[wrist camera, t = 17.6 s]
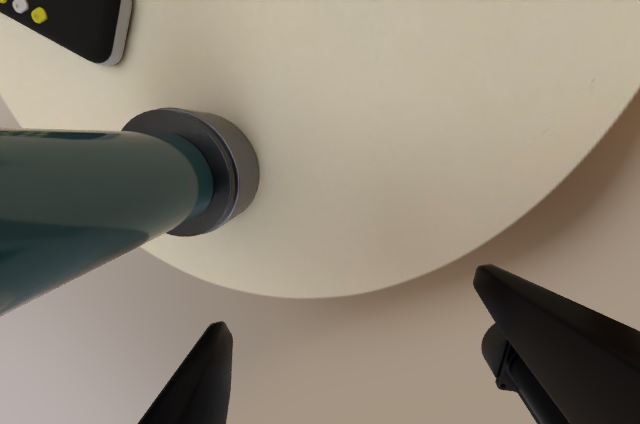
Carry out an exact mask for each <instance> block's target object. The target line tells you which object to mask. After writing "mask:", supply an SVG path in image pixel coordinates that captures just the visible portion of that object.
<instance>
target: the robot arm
mask: <svg viewBox="0 0 640 424" xmlns="http://www.w3.org/2000/svg"><path fill="white" fill-rule="evenodd" d="M473 285H474V288H475V289H476V291H477V293H478V295H479V296H480V298H481V300H482V301H483V303H484V304H485V306H486V308H487V309H488V311H489V313H490V314H491V316H492V318H493V319H494V321H495V322H496V324H497V325H498V327H499V329H500V330H501V331H502V333H503V334H504V336H505V337H506V338H507V343H506V347H505V350H504V353H503V357H502V360H501V363H500V367H499V370H498V374H497V377H496V381H495V383H496V385H497V387H498V388H499V389H501V390H508V391H516V392H517V393H518V394H519V396H520V397H521V399H522V400H523V402H524V403H525V405H526V406H527V408H528V410H529V411H530V413H531V415H532V416H533V418H534V419H535V421H536V422H537V424H640V331H638V330H636V329H634V328H631V327H629V326H627V325H625V324H622V323H620V322H618V321H616V320H614V319H611V318H609V317H607V316H605V315H603V314H600V313H598V312H596V311H594V310H591V309H589V308H587V307H585V306H583V305H580V304H578V303H576V302H574V301H572V300H569V299H567V298H565V297H563V296H561V295H558V294H556V293H554V292H552V291H549V290H547V289H545V288H543V287H541V286H538V285H536V284H534V283H532V282H529V281H527V280H525V279H523V278H521V277H519V276H516V275H514V274H512V273H510V272H508V271H505V270H503V269H501V268H499V267H496V266H494V265H492V264H485V265H481V266H478V267H477V269H476V273H475V276H474V280H473ZM232 347H233V338H232V335H231V333H230V331H229V329H228V327H227V326H226V324H225V323H224V322H223V321H220V322H216V323H212V324H210V326H209V327H208V328H207V329H206V331H205V332H204V334H203V335H202V336H201V338H200V339H199V340H198V342H197V343H196V344H195V346H194V347H193V349H192V350H191V351H190V353H189V354H188V355H187V357H186V358H185V360H184V361H183V362H182V364H181V365H180V366H179V368H178V369H177V371H176V372H175V373H174V375H173V376H172V377H171V379H170V380H169V381H168V383H167V384H166V385H165V387H164V388H163V390H162V391H161V393H160V394H159V395H158V397H157V398H156V399H155V401H154V402H153V403H152V405H151V406H150V407H149V409H148V410H147V412H146V413H145V414H144V416H143V417H142V418H141V420H140V421H139V423H138V424H226V419H227V412H228V405H229V398H230V390H231V371H232V349H233V348H232Z"/></svg>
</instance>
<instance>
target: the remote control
mask: <svg viewBox="0 0 640 424" xmlns="http://www.w3.org/2000/svg"><path fill="white" fill-rule="evenodd" d="M131 9H132V0H0V12H1V13H3V14H5V15H6V16H8V17H10V18H12V19H14V20H16V21H17V22H19V23H21V24H23V25H25V26H27V27H28V28H30V29H32V30H34V31H36V32H37V33H39V34H41V35H43V36H45V37H47V38H48V39H50V40H52V41H54V42H56V43H58V44H59V45H61V46H63V47H65V48H67V49H68V50H70V51H72V52H74V53H76V54H78V55H79V56H81V57H83V58H85V59H87V60H89V61H91V62H94V63H97V64H100V65H105V66H111V65H115V64H116V63H118V62H119V61H120V59H121V58H122V55H123V51H124V46H125V41H126V36H127V30H128V25H129V20H130V14H131Z"/></svg>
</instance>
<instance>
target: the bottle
mask: <svg viewBox="0 0 640 424" xmlns="http://www.w3.org/2000/svg"><path fill="white" fill-rule="evenodd" d="M212 195H213V177H212V173H211V170H210V167H209V165H208V163H207V161H206V159H205V157H204V156H203V154H202V153H201V152H200V151H199V150H198V149H197V148H196V147H195V146H194V145H193V144H192V143H191V142H189V141H188V140H186V139H185V138H183V137H181V136H179V135H176V134H173V133H168V132H138V131H101V130H65V129H29V128H0V316H3V315H4V314H6V313H8V312H10V311H12V310H14V309H16V308H18V307H20V306H22V305H24V304H26V303H28V302H30V301H32V300H34V299H36V298H38V297H40V296H42V295H44V294H46V293H48V292H50V291H52V290H54V289H56V288H58V287H60V286H62V285H64V284H66V283H68V282H70V281H72V280H74V279H75V278H78V277H79V276H81V275H83V274H85V273H87V272H89V271H91V270H93V269H95V268H97V267H99V266H101V265H103V264H105V263H107V262H109V261H111V260H113V259H115V258H117V257H119V256H121V255H123V254H125V253H127V252H129V251H131V250H133V249H135V248H137V247H139V246H141V245H143V244H145V243H147V242H149V241H151V240H153V239H155V238H157V237H159V236H161V235H163V234H165V233H167V232H168V231H170V230H172V229H174V228H176V227H178V226H180V225H182V224H184V223H186V222H188V221H190V220H192V219H194V218H196V217H198V216H199V215H201V214H202V213H203V212H204V211H205V210H206V208H207V207H208V205H209V203H210V201H211V198H212Z"/></svg>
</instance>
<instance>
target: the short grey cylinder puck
mask: <svg viewBox="0 0 640 424" xmlns="http://www.w3.org/2000/svg"><path fill="white" fill-rule="evenodd" d="M121 131H138V132H168V133H173V134H176V135H179V136H181V137H183V138H185V139H186V140H188V141H189V142H191V143H192V144H193V145H194V146H195V147H196V148H197V149H198V150H199V151H200V152H201V153H202V154H203V156H204V157H205V159H206V161H207V163H208V165H209V167H210V170H211V173H212V177H213V195H212V198H211V201H210V203H209V205H208V207H207V208H206V210H205V211H204V212H203V213H202V214H201V215H199V216H198V217H196V218H194V219H192V220H190V221H188V222H186V223H184V224H182V225H180V226H178V227H176V228H174V229H172V230H170V231H168V232H167V234H170V235H174V236H196V235H199V234H205V233H208V232H211V231H213V230H215V229H217V228H219V227H220V226H222V225H223V224H225V223H226V222H228V221H229V220H231V219H232V218H234V217H235V216H237V215H238V214H240V213H241V212H243V211H244V210H245V209H246V208H247V207H248V206H249V205H250V203H251V202H252V200H253V199H254V197H255V194H256V192H257V188H258V184H259V166H258V161H257V157H256V155H255V152H254V149H253V148H252V146H251V144H250V142H249V141H248V139H247V138H246V136H245V135H244V134H243V133H242V132H241V131H240V130H239V129H238V128H237V127H236V126H235V125H234V124H232V123H231V122H229V121H228V120H226V119H224V118H222V117H219V116H217V115H213V114H209V113H203V112H197V111H191V110H185V109H179V108H160V109H156V110H151V111H147V112H144V113H142V114H139V115H137V116H136V117H134V118H133V119H131V120H130V121H129V122H128V123H127V124H126V125H125V126H124V128H123V129H122V130H121Z"/></svg>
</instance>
